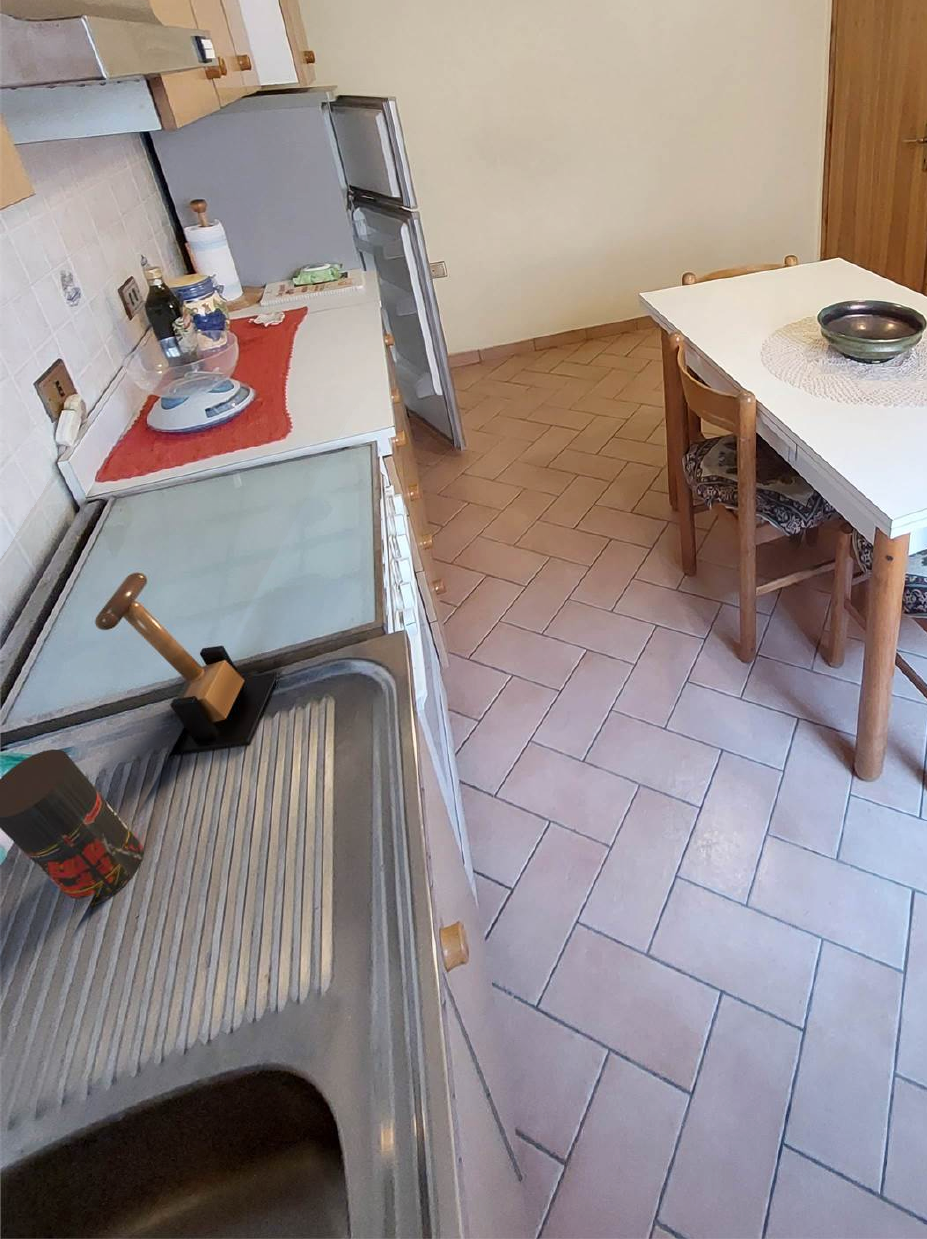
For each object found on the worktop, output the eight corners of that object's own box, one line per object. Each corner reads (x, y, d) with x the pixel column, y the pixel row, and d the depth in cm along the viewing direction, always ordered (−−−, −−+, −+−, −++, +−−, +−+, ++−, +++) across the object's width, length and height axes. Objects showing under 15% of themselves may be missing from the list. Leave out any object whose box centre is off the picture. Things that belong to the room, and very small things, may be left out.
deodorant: (55, 899, 67) (-34, 810, 59) (111, 833, 72) (35, 744, 64) (104, 913, 65) (19, 824, 58) (157, 845, 70) (85, 755, 63)
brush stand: (159, 758, 78) (129, 717, 75) (198, 687, 86) (172, 646, 83) (250, 745, 79) (224, 703, 75) (280, 675, 87) (258, 635, 83)
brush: (69, 628, 70) (109, 616, 69) (111, 576, 76) (148, 564, 75) (186, 737, 79) (222, 727, 78) (214, 682, 85) (248, 673, 85)
